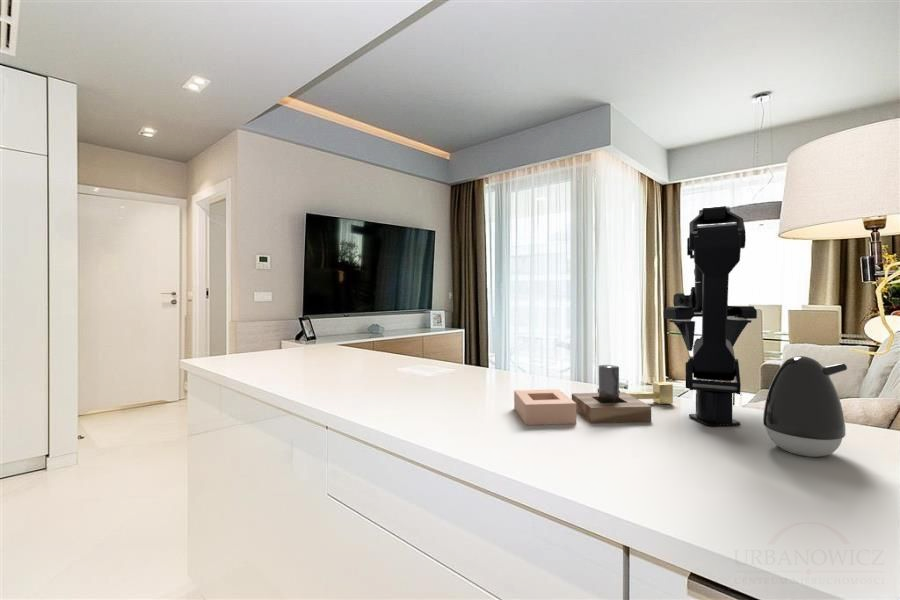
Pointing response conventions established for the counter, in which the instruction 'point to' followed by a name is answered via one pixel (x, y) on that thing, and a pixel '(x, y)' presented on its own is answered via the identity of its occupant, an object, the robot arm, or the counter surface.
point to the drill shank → (608, 384)
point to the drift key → (657, 393)
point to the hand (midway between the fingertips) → (709, 350)
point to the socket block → (611, 408)
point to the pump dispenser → (805, 408)
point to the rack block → (544, 407)
